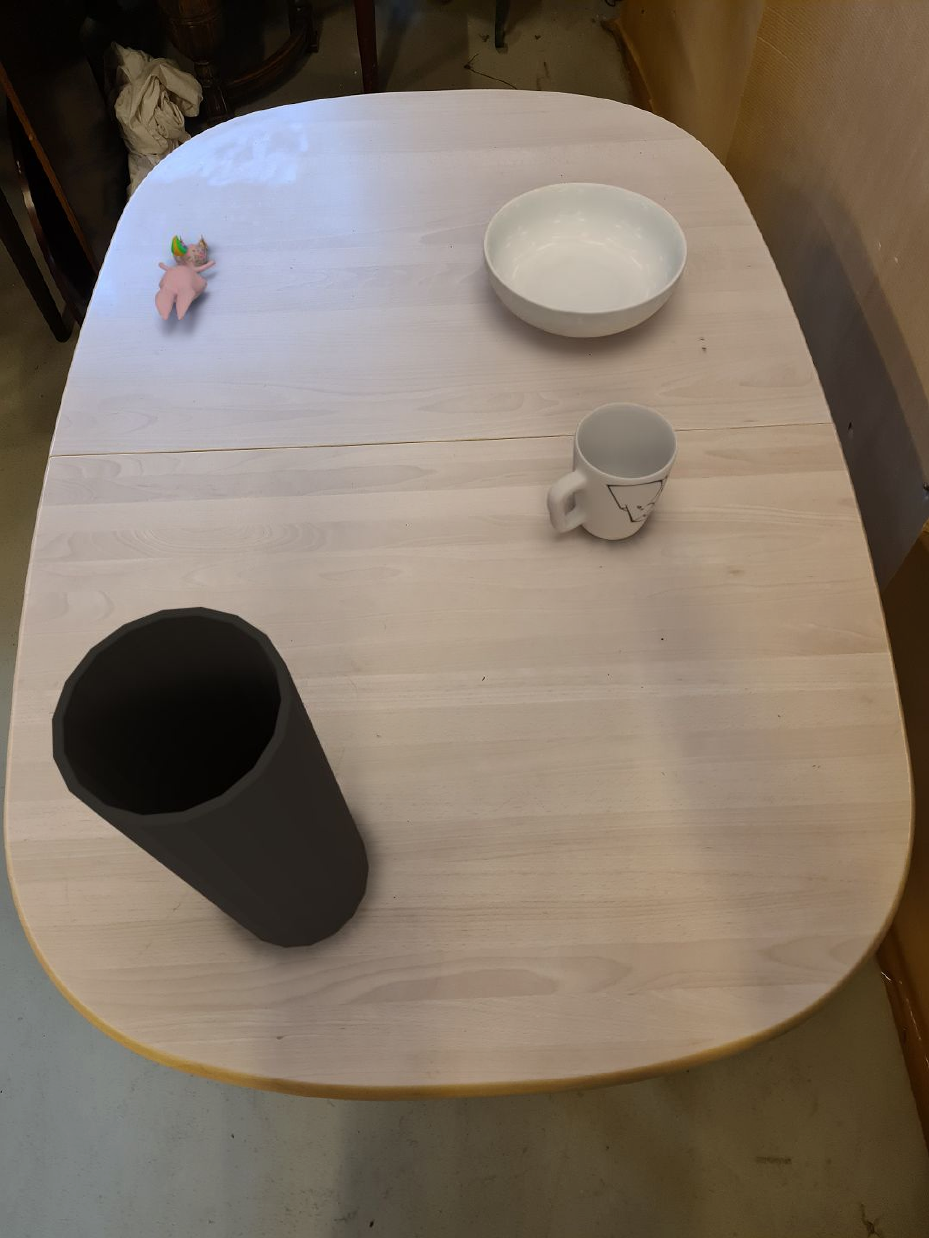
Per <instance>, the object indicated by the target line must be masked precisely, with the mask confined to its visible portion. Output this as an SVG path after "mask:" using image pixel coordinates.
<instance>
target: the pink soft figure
mask: <svg viewBox="0 0 929 1238" xmlns="http://www.w3.org/2000/svg"><path fill="white" fill-rule="evenodd" d="M200 236H201V238H199V241H198V243H197V244H188V245H186V244H185V242H184V241H183V239H182V236H181V235H179V237H178V235H175V236H174V237H173V238H172V240H171V245H170V251H171V253H172V255H173V259H174V261H175V262H176V264H177V265H173V266H171V267H170V266H167V265H165V263H164V262H159V263H157V265H158V267H159V268H160V269H162V270H164V271H165V272H164V274H163V276H162V277H161V278H160V280H159V283H158V287H159V290H158V291H156V294H155V297H154V305H155V308H156V310H157V312H158V313H159V315H160V317H161V318H162V320H164V321H165V322H166V321H168V320H169V317H170V314H171V312H172V309H173V306H174V304H175V311H176V315H177V320H178V321H181V320H182V319H183V318H184V316H185V315H186V314H187V311H188V309H189V307H190V306H191V304H192V302H193V301H195V300H196V299H198V297H199V296H200V295H201V294H202V293H203V291H205V289H206V288H207V286H208V282H207V280H206V279H205V278H204V277H203V276H201V275H200V273H202V272H204V271H205V270H208V269H209V268H211V267H213V266H215V265H216V261H215V260H214V259H211V260H209V261H207V259H208V253H207V248H209V245H208V243H207V242H206V240H205V239H204V237H203V234H200ZM206 247H207V248H206ZM206 262H207V263H206Z"/></svg>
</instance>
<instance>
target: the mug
mask: <svg viewBox="0 0 929 1238" xmlns="http://www.w3.org/2000/svg"><path fill="white" fill-rule="evenodd" d="M678 445H679V444H678V437H677V433H676V430H675V429H674V427H673V426H672V424H671V422H669V420H668V419H667V418H666V417H664V415H662V414H661V413H659V412H658V411H656V410H655V409H653V408H651V407H648V406H646V405H643V404H640V403H634V402H627V401H626V402H622V401H620V402H619V401H618V402H611V403H607V404H603V405H601V406H598V407H596V408H594V409H592V410H591V411H589V412H587V414H586V415H585V416H584V417H583V418H582V419H581V421H580V422H579V423H578V425H577V427H576V430H575V433H574V438H573V452H572V471H571V472H569V473H567V474H565V475H563V476H562V477H560V478H559V479H558V480H556V481H555V482H554V483H553V484H552V485H551V486H550V488H549V489H548V491H547V496H546V507H547V511H548V515H549V521H550V524H551V526H552V527H553V528H554V530H555V531H556V532H558V533H567V532H569V531H571V530H574V529H575V528H577V527H578V526H580V525H581V526H582V527H583V528H584V529H585V530H586V531H587V532H588V533H590V534H591V535H593V536H594V537H597V538H599V539H603V540H611V541H616V540H617V541H618V540H622V539H626V538H628V537H631V536H632V535H634V534H635V533H636V532H638V531H639V530H640V529H641V528H642V526H643V525H644V523H645V522H646V520H647V519H648V517H649V516H650V514H651V512H652V510H653V509H654V507H655V506H656V504H657V502H658V501H659V498H660V497H661V495H662V493H663V491H664V488H665V486H666V484H667V481H668V478H669V477H670V473H671V472H672V470H673V466H674V464H675V461H676V458H677V454H678V450H679V449H678V448H679V446H678ZM572 494H573V496H574V505H575V506H574V508H573V509H572V510H571V511H569V512H568V513H566V514H565V509H564V505H565V502H566V500H567V499H568V498H569V497H570V496H571V495H572Z"/></svg>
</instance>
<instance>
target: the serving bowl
mask: <svg viewBox="0 0 929 1238" xmlns="http://www.w3.org/2000/svg"><path fill="white" fill-rule="evenodd" d="M485 228H486V229H485V231H484V236H483V239H482V240H483V241H482V248H483V249H482V252H483V259H484V266H485V269H486V273H487V277H488V279H489V282H490V284H491V286H492V288H493V290H494V291H495V294H496V295H497V296H498V298H499V300H500V301H501V302H502V303H503V305H505V306H506V308H507V309H508V310H510V311H511V312H512V313H513V314H514V315H516V316H517V317H518V318H519V319H521V320H522V321H523V322H525V323H527V324H528V325H531V326H533V327H534V328H537V329H539V330H541V331H544V332H548V333H550V334H554V335H559V336H563V337H570V338H598V337H605V336H610V335H613V334H618V333H621V332H624V331H627V330H629V329H631V328H633V327H635V326H637V325H639V324H641V323H643V322H644V321H646V320H648V319H649V318H650V317H651V316H653V314H655V313H657V311H658V310H660V309H661V308H662V306H664V304H665V303H666V302H667V301H668V300H669V298H671V295H672V294H673V293H674V291H675V289H676V287H677V285H678V284H679V281H680V280H681V277H682V275H683V272H684V270H685V268H686V265H687V260H688V243H687V238H686V235H685V233H684V230H683V229H682V227H681V226H680V224H679V222H678V221H677V219H675V218H674V217H673V215H672V214H671V213H669V212H668V210H666V209H665V208H664V207H663V206H661V205H660V204H659V203H657V202H656V201H654V200H652V199H650V198H649V197H647V196H644V195H642V194H640V193H637V192H634V191H632V190H629V189H626V188H624V187H619V186H615V185H610V184H605V183H596V182H585V181H583V182H582V181H579V182H578V181H574V182H573V181H572V182H562V183H554V184H550V185H545V186H540V187H537V188H534V189H531V190H528V191H526V192H523V193H522V194H519V195H518V196H516V197H514V198H512V199H510V200H509V201H508V202H505V204H503V206H502V207H500V208H499V209H498V210H497V211H496V213H494V214H493V216H492V217H491V219H490V220H489V222H488V224H487V226H486V227H485Z"/></svg>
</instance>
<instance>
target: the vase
mask: <svg viewBox="0 0 929 1238" xmlns="http://www.w3.org/2000/svg"><path fill="white" fill-rule="evenodd" d="M51 737H52V739H51V740H52V743H51V744H52V759H53V761H54V763H55V765H56V767H57V769H58V771H59V774H60V775H61V777H62V780H63V781H64V784H65V786H66V788H67V790H68V792H69V793H71V794H72V795H73V796H75V798H77V799H78V800H79V801H80V802H82V803H83V804H84V805H85V806H87V807H88V808H89V809H90V810H92V811H93V812H94V813H95V814H96V815H98V816H99V817H100V818H101V819H103V820H104V821H106V823H108V824H109V825H110V826H112V827H113V828H114V829H116V830H117V831H118V832H120V833H121V834H122V835H124V837H126V838H127V839H128V840H129V841H131V842H132V843H134V844H135V845H137V846H138V847H139V848H140V849H142V850H143V851H145V853H147V854H148V855H150V856H151V857H152V858H153V859H155V861H157V862H159V863H160V864H161V865H162V866H164V867H165V868H166V869H168V870H169V871H170V872H171V873H173V874H174V875H175V876H177V877H178V878H179V879H181V880H182V881H183V882H184V883H186V884H187V885H189V886H190V887H191V888H192V889H194V890H195V891H196V892H198V893H199V894H200V895H201V896H202V897H204V898H205V899H207V900H208V901H209V902H210V903H212V905H214V906H216V907H217V908H218V909H220V910H221V911H222V912H223V913H224V914H226V915H227V916H228V917H230V919H233V920H234V921H235V922H236V923H238V925H240V926H241V927H243V928H244V929H245V930H246V931H248V932H250V933H251V934H252V935H253V936H255V938H257V939H258V940H260V941H261V942H265V943H268V944H271V945H274V946H279V947H281V948H298V947H308V946H312V945H314V944H317V943H319V942H321V941H323V940H325V939H327V938H329V937H331V936H333V935H336V934H337V932H338V931H339V930H340V929H342V927H343V926H344V925H346V924H347V922H349V921H350V920H351V918H352V917H354V915H355V913H356V911H357V910H358V908H359V905H360V903H361V901H362V899H363V898H364V895H365V894H366V892H367V891H366V889H367V883H368V876H369V871H370V869H369V868H370V867H369V861H368V857H367V851H366V847H365V843H364V841H363V839H362V837H361V834H360V832H359V829H358V827H357V825H356V822H355V820H354V818H353V815H352V813H351V810H350V809H349V808H350V807H349V806H348V804H347V801H346V799H345V797H344V794H343V792H342V790H341V788H340V785H339V783H338V781H337V778H336V775H335V773H334V771H333V769H332V767H331V765H330V762H329V760H328V758H327V755H326V753H325V751H324V748H323V746H322V744H321V742H320V738H319V737H318V734H317V732H316V729H315V727H314V725H313V723H312V721H311V718H310V716H309V714H308V711H307V709H306V706H305V704H304V702H303V700H302V698H301V695H300V692H299V690H298V689H297V686H296V684H295V682H294V678H293V677H292V674H291V672H290V670H289V668H288V665H287V663H286V662H285V660H284V658H283V657H282V656H281V654H280V653H279V651H278V650H277V648H276V646H275V645H274V643H273V642H272V640H271V639H270V637H269V636H268V634H266V633H265V632H264V631H262V630H261V629H259V628H258V627H256V626H254V625H253V624H251V623H250V622H249V621H247V620H246V619H244V618H242V617H241V616H240V615H238V614H234V613H230V612H226V611H221V610H217V609H213V608H209V607H206V606H205V607H204V606H192V607H181V608H179V607H177V608H167V609H161V610H158V611H154V612H153V613H150V614H148V615H144V616H142V617H139V618H136V619H134V620H131V621H129V622H125V623H124V624H123V625H121V626H119V627H118V628H117V629H115V630H114V631H112V632H111V633H110V634H108V636H107V635H106V637H104V638H103V639H102V640H100V641H99V642H98V643H96V644H94V646H92V647H91V648H90V649H89V650H88V651H87V652H86V654H85V655H84V656H83V658H81V660H80V661H79V663H78V664H77V665H76V666H75V668H74V670H73V671H72V672H71V673H70V674H69V676H68V677H67V679H66V680H65V681H64V684H63V687H62V689H61V692H60V695H59V698H58V701H57V703H56V706H55V709H54V712H53V715H52V717H51Z"/></svg>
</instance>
